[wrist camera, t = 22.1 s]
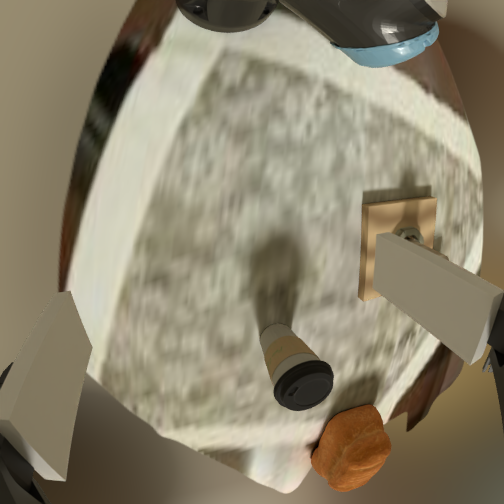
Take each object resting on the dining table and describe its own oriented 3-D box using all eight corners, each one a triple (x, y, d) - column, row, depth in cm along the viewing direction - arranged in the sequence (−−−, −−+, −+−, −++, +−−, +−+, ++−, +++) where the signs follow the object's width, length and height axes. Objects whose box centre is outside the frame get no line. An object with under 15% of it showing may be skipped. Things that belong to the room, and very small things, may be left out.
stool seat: (362, 204, 49) (374, 208, 45) (430, 196, 52) (442, 199, 49) (357, 296, 55) (368, 305, 52) (422, 276, 59) (432, 283, 56)
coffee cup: (249, 319, 50) (279, 378, 37) (301, 310, 52) (342, 361, 39) (251, 361, 53) (277, 420, 40) (298, 351, 56) (333, 404, 42)
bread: (305, 463, 75) (327, 504, 59) (328, 412, 66) (360, 461, 51) (348, 450, 79) (371, 487, 63) (376, 399, 71) (409, 439, 55)
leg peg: (395, 261, 52) (430, 282, 43) (397, 239, 51) (434, 258, 42) (411, 256, 53) (446, 276, 44) (413, 235, 52) (450, 253, 43)
